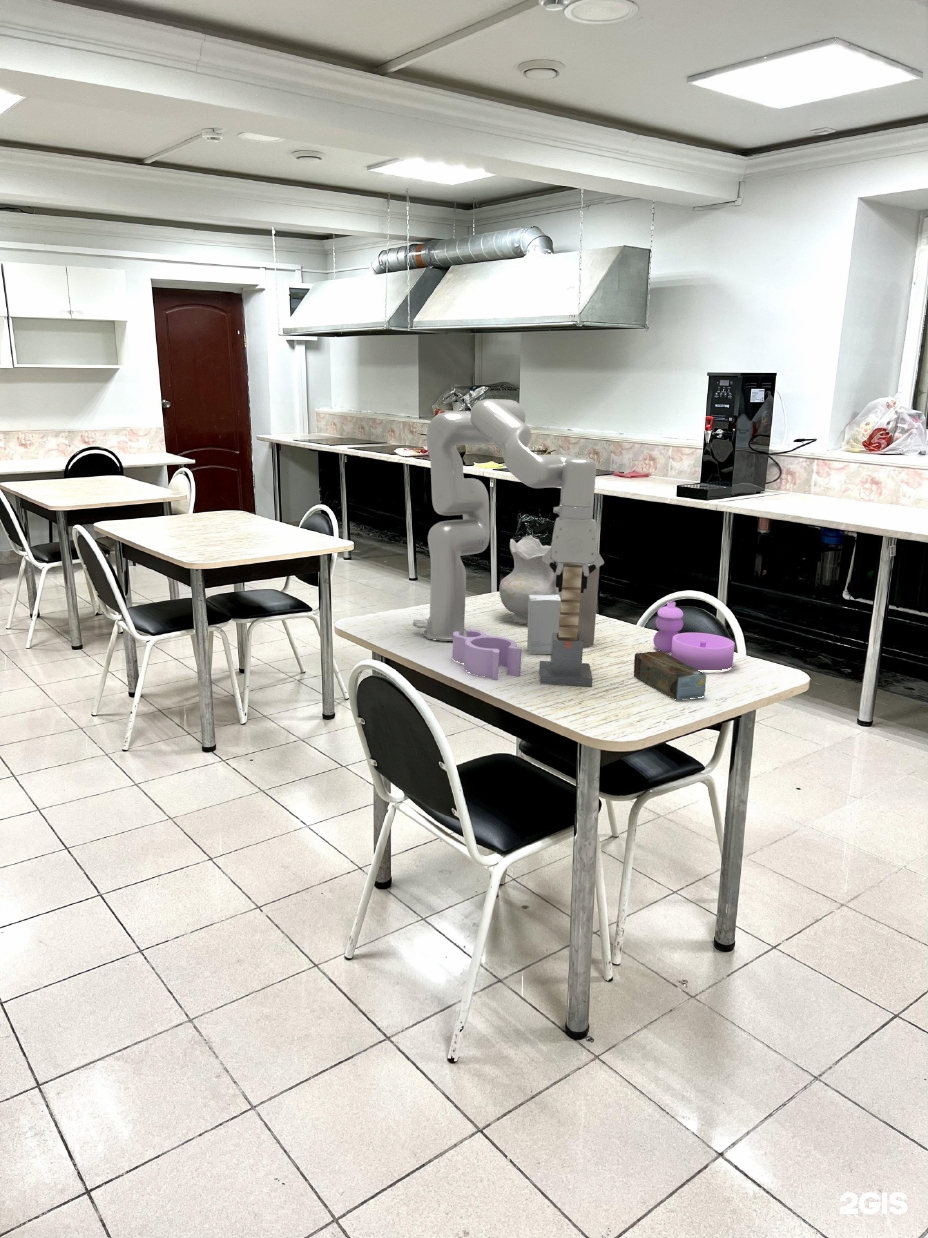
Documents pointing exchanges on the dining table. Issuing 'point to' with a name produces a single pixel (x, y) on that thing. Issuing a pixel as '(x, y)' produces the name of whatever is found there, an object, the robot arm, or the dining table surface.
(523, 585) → the ceramic pitcher
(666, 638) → the container set
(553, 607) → the skincare box
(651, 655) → the beverage carton
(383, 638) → the dining table surface
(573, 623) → the post
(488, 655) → the clip
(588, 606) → the thermos bottle
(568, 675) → the sleeve base
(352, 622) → the dining table surface
